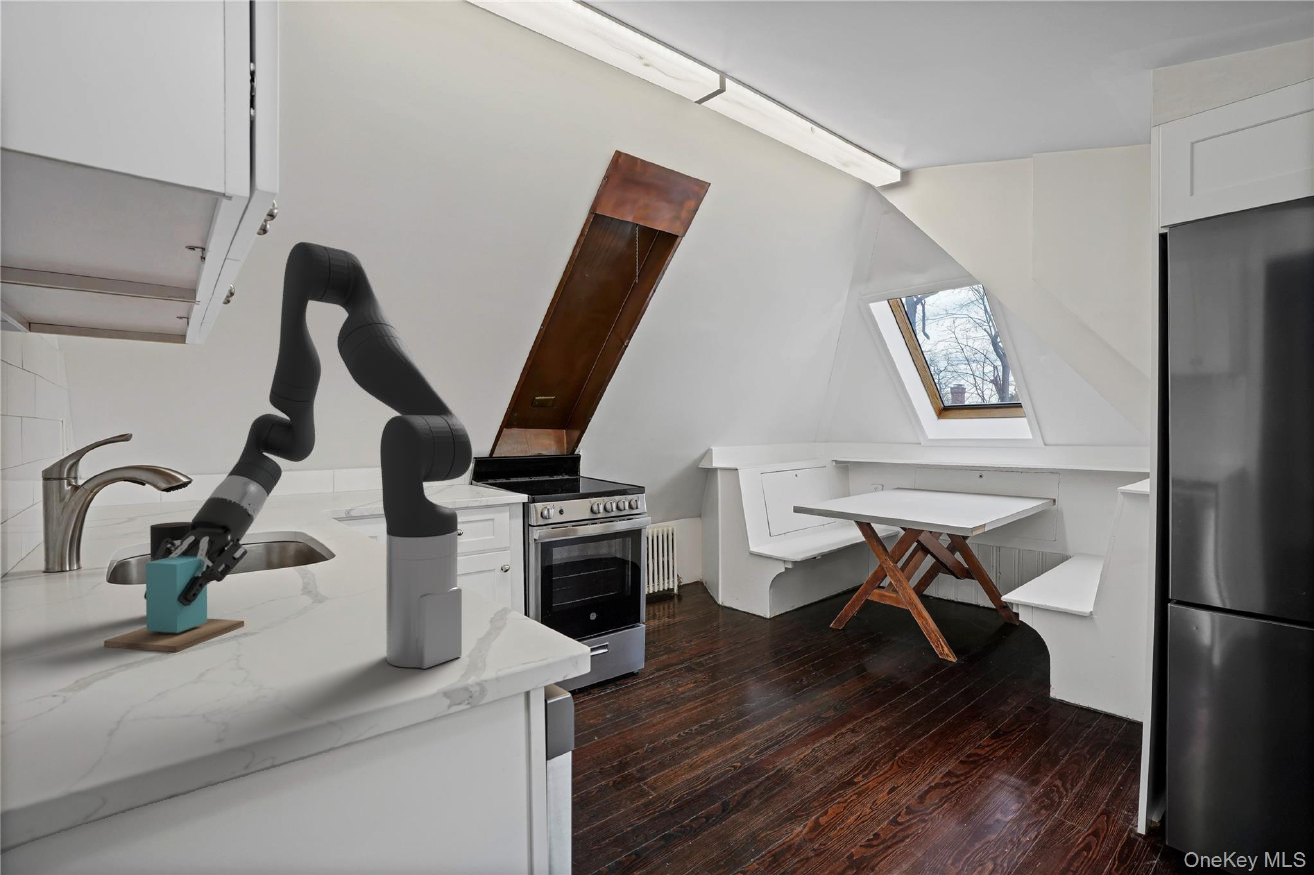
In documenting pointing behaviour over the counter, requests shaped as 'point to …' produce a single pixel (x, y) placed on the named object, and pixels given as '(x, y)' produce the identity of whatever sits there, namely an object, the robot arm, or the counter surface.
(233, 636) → the counter surface
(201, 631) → the post board
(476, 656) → the counter surface
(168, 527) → the deodorant
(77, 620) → the counter surface
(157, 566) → the teal block
